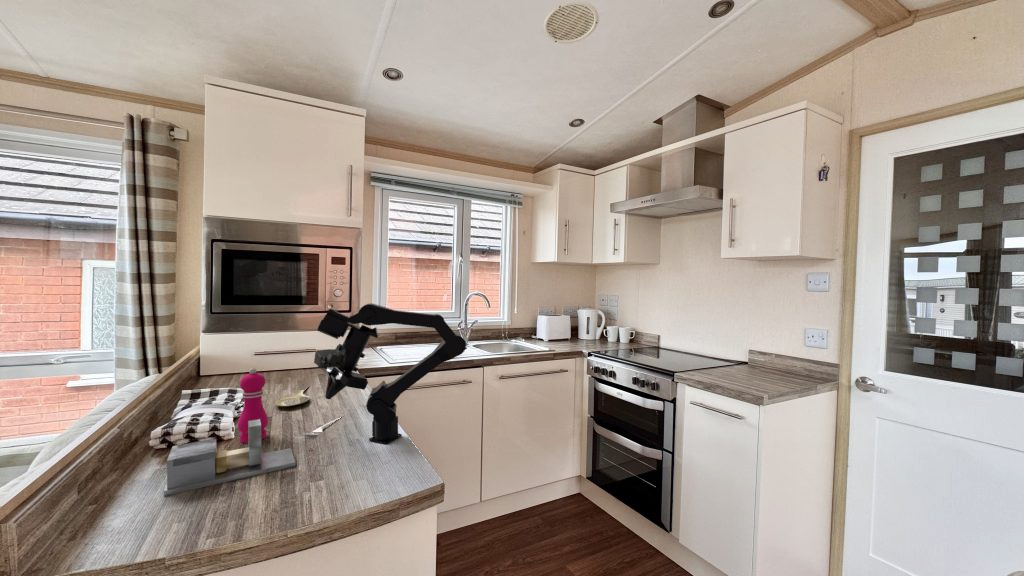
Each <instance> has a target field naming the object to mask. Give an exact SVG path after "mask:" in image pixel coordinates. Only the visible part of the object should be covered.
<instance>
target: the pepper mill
mask: <svg viewBox="0 0 1024 576" xmlns="http://www.w3.org/2000/svg"><path fill="white" fill-rule="evenodd" d="M265 385H266V377H265V376H264V375H263V374H261V373H258V372H257V368H255V367H251V368H250V369H249V370H248V374H245V375H244V376H242V377H241V379H240V382H239V387H240V388H241V390H242V396H241V397H242V398H243V401H244V403H243V409H242V411H241V414H240V416H239V418H238V421H237V429H238V431H240V432H241V433H240V434H239V442H240V443H243V444H249V440H248V421H252V420H258V419H260V422H261V441H263V440H265V439H266V438H267V429H266V428H267V426H268V424H269V417H268V415H267V414H268V413H266V410H265V409H264V407H263V400H262V398H263V395H264V389H263V388H264V387H265Z"/></svg>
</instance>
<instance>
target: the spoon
mask: <svg viewBox="0 0 1024 576" xmlns="http://www.w3.org/2000/svg"><path fill="white" fill-rule="evenodd" d="M305 391H307V390H306V389H305V390H300V389H299V390H298V391H297V392H296V393H294V394H292V395H289V396H287V397H283V398H279V399H278V400H276V401H275V402H274V405H276V406H277V407H291V406H297V405H301V404H304V403H306V402H309V400H310V396H308V395H306V394H305V393H304V392H305ZM291 398H300V399H302V401H301V402H300V403H299V402H297V403H298V404H297V403H294V405H292V404H291V405H286V404H284V402H285V401H286V400H288V399H291Z"/></svg>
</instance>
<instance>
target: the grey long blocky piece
mask: <svg viewBox="0 0 1024 576" xmlns="http://www.w3.org/2000/svg"><path fill="white" fill-rule="evenodd" d="M217 448H218V447H217V438H210V439H205V440H200V441H199V440H198V441H193V442H190V443H184V444H179V445H178V444H177V445H173V446H172V447H171V450H170V452H169V454H168V457H167V460H166V484H165V486H164V490H163V496H164V497H166V496H170V495H175V494H179V493H184V492H189V491H193V490H196V489H197V490H198V489H201V488H205V487H210V486H214V485H218V484H223V483H227V482H231V481H237V480H241V479H245V478H246V479H247V478H249V477H254V476H259V475H263V474H268V473H273V472H275V471H276V472H277V471H281V470H285V469H289V468H293V467H294V468H295V467H296V463H297V462H296V460H295V456H294V454H293V450H292V448H291V447H289V448H285V449H279V450H273V451H270V452H264V453H261V464H256V465H251V466H249V464H248V465H244V466H239V467H234V468H229V469H227V470H226V471H225V472H220V473H217V471H216V462H215V454H216V453H217V451H218V450H217Z"/></svg>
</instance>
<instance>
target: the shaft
mask: <svg viewBox="0 0 1024 576" xmlns="http://www.w3.org/2000/svg"><path fill="white" fill-rule="evenodd" d="M248 440H249V443H248V447H243V448H238V449H232V450H227V449H223V450H217V453H216V454H215V462H216V471H217V473H220V472H225V471H226V470H227V469H229V468H234V467H239V466H244V465H248V464H249V466H251V465H256V464H261V454H262V440H261V422H260V419H258V420H252V421H248Z"/></svg>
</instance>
